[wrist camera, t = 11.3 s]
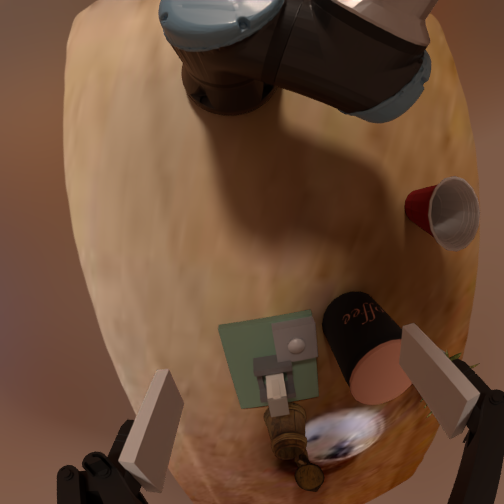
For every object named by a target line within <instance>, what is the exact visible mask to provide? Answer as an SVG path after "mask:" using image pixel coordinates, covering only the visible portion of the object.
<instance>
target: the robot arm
mask: <svg viewBox="0 0 504 504" xmlns="http://www.w3.org/2000/svg"><path fill="white" fill-rule="evenodd" d="M437 1H438V0H161V2H160V5H159V20H160V23H161V25H162V28H163V32H164V35H165V37H166V40H167V41H168V42H169V43H170V44H171V46H172V47H173V49H174V50H175V52H176V53H177V55H178V56H179V58H180V59H181V61H182V62H183V65H182V81H183V85H184V87H185V90H186V91H187V93H188V94H189V96H190V97H191V99H192V100H193V101H194V102H195V103H196V104H197V105H198V106H200V107H201V108H203V109H205V110H207V111H209V112H212V113H215V114H219V115H240V114H244V113H248V112H250V111H253V110H255V109H257V108H258V107H260V106H262V105H263V104H264V103H265V102H267V101H268V100H269V99H270V97H271V96H272V95H273V93H274V92H275V90H276V88H277V87H280V88H283V89H286V90H289V91H292V92H295V93H298V94H301V95H304V96H306V97H309V98H312V99H314V100H317V101H320V102H322V103H325V104H327V105H330V106H332V107H334V108H337V109H338V110H339V111H340V112H342V113H344V114H346V115H347V114H348V115H350V116H356V117H358V118H361V119H363V120H366V121H368V122H371V123H385V122H389V121H392V120H394V119H396V118H398V117H399V116H401V115H402V114H403V113H405V112H406V111H407V110H408V109H409V108H410V107H411V106H412V105H413V104H414V103H415V102H416V101H417V99H418V98H419V97H420V95H421V94H422V92H423V90H424V87H423V84H424V83H425V82H427V81H428V80H429V77H430V73H431V59H430V56H429V54H428V53H427V51H426V50H425V49H426V48H427V46H428V45H429V43H430V38H429V34H428V31H427V28H426V25H425V19H426V18H427V16H428V15H429V13H430V12H431V10H432V9H433V7H434V6H435V4H436V3H437ZM399 365H400V366H401V368H402V369H403V370H404V372H405V373H406V375H407V376H408V378H409V379H410V380H411V382H412V383H413V385H414V386H415V388H416V389H417V390H418V392H419V393H420V395H421V396H422V398H423V399H424V401H425V402H426V404H427V405H428V407H429V408H430V410H431V411H432V413H433V414H434V416H435V417H436V419H437V420H438V422H439V423H440V425H441V426H442V428H443V430H444V431H445V433H446V434H447V436H448V437H449V439H452V438H454V437H455V436H457V435H459V434H461V433H462V432H463V430H464V428H465V426H466V425H467V427H468V428H469V431H468V433H467V435H466V437H465V438H464V441H463V443H465V441H466V443H465V447H464V452H463V456H462V460H461V463H460V467H459V470H458V474H457V477H456V480H455V483H454V487H453V489H452V492H451V495H450V498H449V500H448V504H494V501H495V497H496V493H497V489H498V484H499V480H500V475H501V469H502V463H503V457H504V392H503V391H501V390H491V389H490V388H489V387H488V386H487V385H486V384H485V383H484V382H483V380H482V379H481V378H480V377H479V376H478V375H477V374H475V372H474V371H473V370H472V369H471V368H470V367H469V366H468V365H467V364H466V363H465V362H464V361H461V360H459V359H455V360H453V361H451V360H450V359H449V358H448V357H447V356H446V355H445V354H444V353H443V352H442V351H441V350H440V349H439V348H438V347H437V346H436V345H435V344H434V343H433V342H432V341H431V340H430V339H429V338H428V337H427V336H426V334H425V333H424V332H423V331H422V330H421V329H420V328H419V327H418V326H417V325H416V324H415V323H411V324H408V325H405V326H403V328H402V340H401V350H400V359H399ZM183 406H184V402H183V400H182V397H181V395H180V393H179V391H178V389H177V386H176V384H175V382H174V380H173V377H172V375H171V373H170V370H169V369H161V370H156V372H155V375H154V377H153V379H152V381H151V384H150V386H149V388H148V391H147V393H146V395H145V397H144V400H143V402H142V404H141V407H140V409H139V411H138V414H137V416H136V419H135V420H127V421H126V422H125V423H124V424H123V425H122V426H121V428H120V430H119V432H118V435H117V437H116V439H115V441H114V443H113V446H112V448H111V450H110V452H109V455H108V457H106V456H105V454H103V453H101V452H92V453H89V454H88V455H86V456H85V458H84V459H83V462H82V467H83V468H84V469H85V470H86V471H78V469H76V467H74V466H72V465H67V466H64V467H62V468H61V469H60V470H59V471H58V474H57V504H148V502H147V501H146V499H145V498H144V496H143V494H142V493H141V492H140V488H141V486H142V487H143V488H144V489H145V490H146V491H151V492H158V493H161V492H162V489H163V484H164V480H165V476H166V472H167V468H168V464H169V460H170V456H171V452H172V448H173V444H174V440H175V436H176V432H177V428H178V425H179V421H180V417H181V413H182V409H183Z"/></svg>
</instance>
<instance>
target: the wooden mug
mask: <svg viewBox="0 0 504 504" xmlns="http://www.w3.org/2000/svg"><path fill="white" fill-rule="evenodd" d="M288 407H289V415H282V416H276V417H271V414H270V410H269V408H268V409H267V410H266V412H265V413H264V421H265V424H266V426H267V428H268V431H269V435H270V438H271V447H272V450H273V452H274V453H275V456H276V457H277V458H278V459H281V460H289V459H294V458H296V459H294V460H295V463H296V465H297V467H298V469H297V470H296V472H295V480H296V482H297V484H298V485H299V487H301V488H302V489H304V490H307V491H314V492H317V491H318V489H319V488H320V487H321V485H322V484H323V482H324V475H323V472H322V470H321V468H320V467H319V466H318V465H315V464H312V463H310V462H309V460H308V454H307V450H306V446H307V438H306V437H305V421H306V414H305V410H304V409H303V408H302V407H301V406H300V405H298V404H295V403H291V402H288Z"/></svg>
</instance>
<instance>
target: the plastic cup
mask: <svg viewBox="0 0 504 504" xmlns="http://www.w3.org/2000/svg"><path fill="white" fill-rule="evenodd" d="M405 212H406V214H407V216H408V218H409V219H410V220H411V221H412V222H414V223H415V224H416V225H418V226H419V227H420V228H421V229H423V230H424V231H426V232H427V233H429V234H430V235H432V236H433V237H434V238H435V239H436V241H437V243H439V244H440V245H441V246H442V247H444V248H445V249H446V250H450V251H456V252H457V251H459V250H461V249H464V248H466V247H467V246H468V245H469V244H470V242H471V241H472V240H473V239H474V237H475V234H476V232H477V229H478V227H479V218H480V209H479V203H478V198H477V196H476V194H475V192H474V190H473V188H472V187H471V186H470V185H469V184H468V183H467V182H466V181H465V180H464V179H462V178H459V177H456V176H453V177H449V178H445V179H443V180H442V181H441V182H440V183H439V184H438V185H435V186H431V187H426V188H423V189H418V190H415V191H413V192H411V193H410V194H409V195H408V197H407V199H406V201H405Z"/></svg>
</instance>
